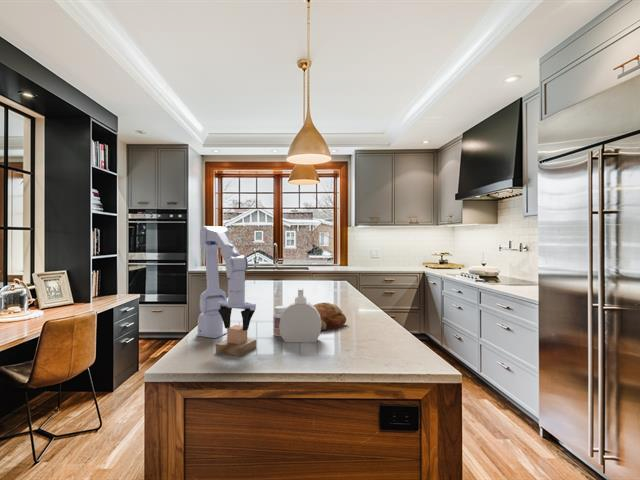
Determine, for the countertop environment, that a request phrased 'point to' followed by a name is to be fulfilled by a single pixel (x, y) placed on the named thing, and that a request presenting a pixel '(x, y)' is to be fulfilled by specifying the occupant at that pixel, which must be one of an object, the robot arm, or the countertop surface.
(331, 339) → the countertop surface
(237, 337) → the terracotta block
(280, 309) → the pill bottle
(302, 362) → the countertop surface
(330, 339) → the countertop surface
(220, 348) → the walnut base
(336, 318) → the bread
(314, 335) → the soap bottle
